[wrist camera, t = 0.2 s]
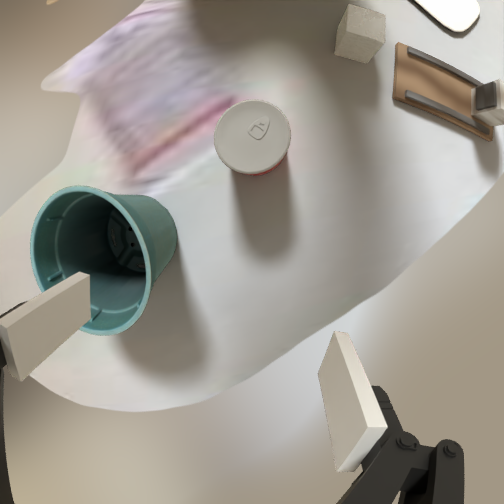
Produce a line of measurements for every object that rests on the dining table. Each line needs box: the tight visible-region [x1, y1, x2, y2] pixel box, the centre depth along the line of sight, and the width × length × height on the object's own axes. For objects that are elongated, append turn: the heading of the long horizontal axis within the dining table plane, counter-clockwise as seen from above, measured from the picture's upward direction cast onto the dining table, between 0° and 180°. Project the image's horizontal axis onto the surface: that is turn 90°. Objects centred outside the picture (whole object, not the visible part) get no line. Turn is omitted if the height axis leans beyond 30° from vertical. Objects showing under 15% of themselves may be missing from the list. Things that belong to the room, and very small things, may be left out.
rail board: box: [392, 42, 504, 141], centre depth 29 cm, size 10×20×9 cm, turn 80°
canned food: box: [214, 99, 291, 176], centre depth 33 cm, size 8×8×11 cm
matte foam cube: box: [334, 4, 385, 64], centre depth 29 cm, size 6×5×8 cm
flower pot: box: [30, 186, 177, 336], centre depth 34 cm, size 16×16×16 cm
